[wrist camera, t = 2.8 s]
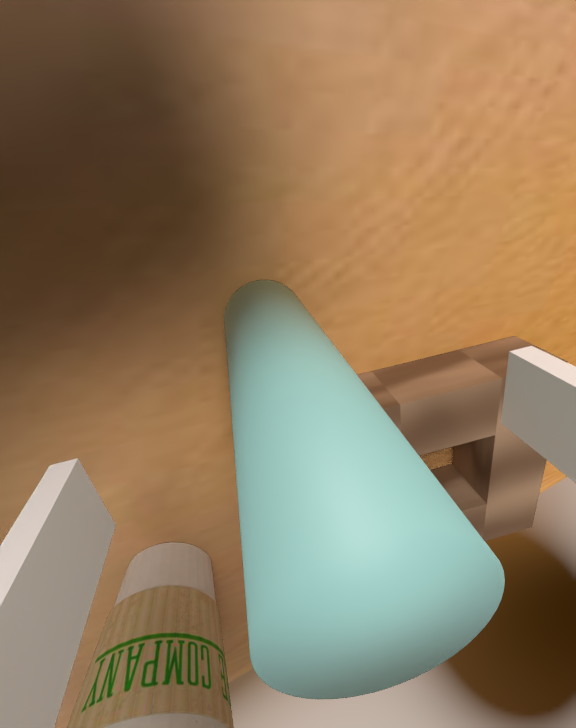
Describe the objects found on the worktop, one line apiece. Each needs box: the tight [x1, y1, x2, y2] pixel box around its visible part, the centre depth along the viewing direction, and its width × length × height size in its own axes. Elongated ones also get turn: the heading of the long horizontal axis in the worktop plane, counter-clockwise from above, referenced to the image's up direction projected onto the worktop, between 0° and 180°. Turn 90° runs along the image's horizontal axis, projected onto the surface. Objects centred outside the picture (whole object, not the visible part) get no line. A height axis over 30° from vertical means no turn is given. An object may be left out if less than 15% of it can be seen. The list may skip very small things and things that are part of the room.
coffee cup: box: [67, 542, 234, 728], centre depth 21 cm, size 10×10×15 cm
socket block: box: [357, 336, 567, 541], centre depth 25 cm, size 14×14×4 cm
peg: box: [224, 280, 505, 699], centre depth 13 cm, size 4×4×16 cm
